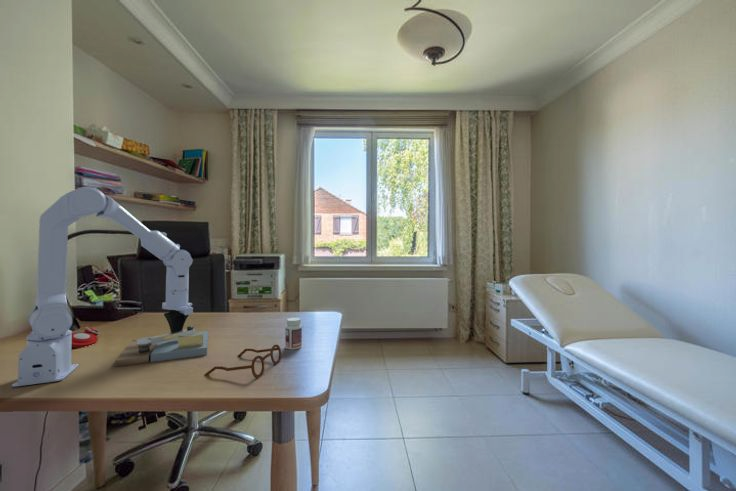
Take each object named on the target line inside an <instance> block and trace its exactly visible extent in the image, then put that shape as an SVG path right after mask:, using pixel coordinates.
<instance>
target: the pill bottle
mask: <svg viewBox="0 0 736 491" xmlns="http://www.w3.org/2000/svg"><path fill="white" fill-rule="evenodd" d="M301 321H302V320H301V318H299V317H290V318H287V319H286V326H285V330H284V331H285V334H284V335H285V336H284V337H285V341H284V343H285V344H284V345H285V349H288V350H294V351H295V350H298V349H300V348H302V343H303V342H302V341H303V340H302V339H303V338H302V334H303V333H302V332H303V331H302V330H303V327H302V325H301Z"/></svg>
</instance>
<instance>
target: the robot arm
mask: <svg viewBox="0 0 736 491" xmlns="http://www.w3.org/2000/svg"><path fill="white" fill-rule="evenodd" d="M94 214H96V215H95V217H97V218H103V219H107V220H108V219H109V220H112V221H114V222H115V223H117V224H118V225H119V226H121V227H122V228H123V229H125V230H127V231H128V232H130V233H131V234H132V235H134V236H135V237H137V238H138V239H140V246H141V247H142V248H144V249H145V250H146V251H148V252H149V253H150V254H152V255H154V257H156V258H158V259H159V260H160V261H162V262H163V265H164V266H165V267H166V274H165V301H164V302H161V304H162V305H161V309H162V310H168V311H169V312H164V313H163V316H164V317H165V319H166V321H167V323H168V326H169V330H170V333H172V332H176V331H181V330H184V325H185V323H186V321H187V319H188V317H189V316H190V315H193V314H194V311H193V310H194V307H192V306H193V303H192V302H189V286H190V285H189V284H190V282H189V281H190V280H189V278H190V274H189V272H190V267H191V265H192V264H193V262H194V259H193V258H192V255H191V254H190V252H188V251H187V250H186V249H180V248H181V245H180V244H179V243H175V242H174V241H172V240H171V239H169V238H168V237H167V235H168V234H167V233H166V232H164V231H159V230H151V229H149V228H148V227H147V226H146V225H144V224H143V223H142V222H141V221H140V220H138V219H137V218H136V217H135V216H134V215H133V214H131V212H129V211H128V210H127V209H125V208H124V207H123V206H121V204H119V203H118V202H117V201H116V200H115V199H113V198H112V197H110V196H108V195H105V194H104V193H103V192H102V191H101V190H100V189H98V188H95V187H92V186H81V187H78V188H76V189H74V190H70V191H69V192H67V193H65V194H63V195H62V196H60V197H59V198H58V199H57V200H56V201H55V202H54V203H53V204H51V205H50V206H49V207H48V208H47V209H46V210H45V211H44V212H42V213H41V214H40V216H39V221H38V223H39V227H38V252H37V253H38V255H37V278H36V281H37V282H36V297H35V301H34V303H35V304H34V308H33V310H31V313H30V314H29V315H28V320H27V321H28V324H29V326H30V327H31V329H32V331H31V332H30V333H29V334H27V335H26V345H25V347H24V348H23V350H21V352H20V354H19V355H18V358H17V360H18V364H17V365H18V369H17V372H18V373H17V374H18V376H17V377H18V378H17V381H16V382H13V383H11V388H16V387H22V386H30V385H31V386H32V385H36V384H37V385H38V384H44V383H51V382H52V383H53V382H60V381H63V380H65V379H66V377H68V376H69V375H70V374H71V373H72V372H73V371H74V370H76V369H77V368H78V367H79V366H80V365H79V363H75V364H72V347H71V344H72V333H73V331H72V330H70V328H71V326H72V324H73V318H72V315H71V313H69V311H68V300H67V270H68V269H67V263H68V236H69V235H68V234H69V226H70V225H72V224H74V223H76V222H78V221H80V220H81V219H82V218H84V217H86V216H90V215H94Z"/></svg>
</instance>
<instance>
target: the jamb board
mask: <svg viewBox="0 0 736 491" xmlns="http://www.w3.org/2000/svg"><path fill="white" fill-rule="evenodd" d="M156 345H157V343H155V344H152V345H150V346H147V347H137V339H133V340H132V341H130V343H129V344H128V345H127V347H126V348H125V349H124V350H123V351H122V352H121V353H120V355H119V356H118V357H117V358H115V362H114V366H115V368H116V367H122V366H124V367H125V366H129V365H130V366H131V365H137V364H138V365H139V364H145V363H146V364H147V363H149V362H151V353H152V351H153V350H154V348H155V346H156Z"/></svg>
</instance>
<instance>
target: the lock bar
mask: <svg viewBox="0 0 736 491" xmlns="http://www.w3.org/2000/svg"><path fill="white" fill-rule="evenodd" d="M196 330H197V329H196V328H195V327H194V325H189V326H187V327H186V329H182V330H181V331H176V332H172V333H171V332H168V333H163V334H158V335H157V334H156V335H154V336H144V337H143V336H142V337H139V338H137V339H136V340H137V347H147V346H150V345H152V344H155V343H159V342H164V341H168V340H172V339H177V338H178V337H179V336H188V335H194V334H196V332H197V331H196Z"/></svg>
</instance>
